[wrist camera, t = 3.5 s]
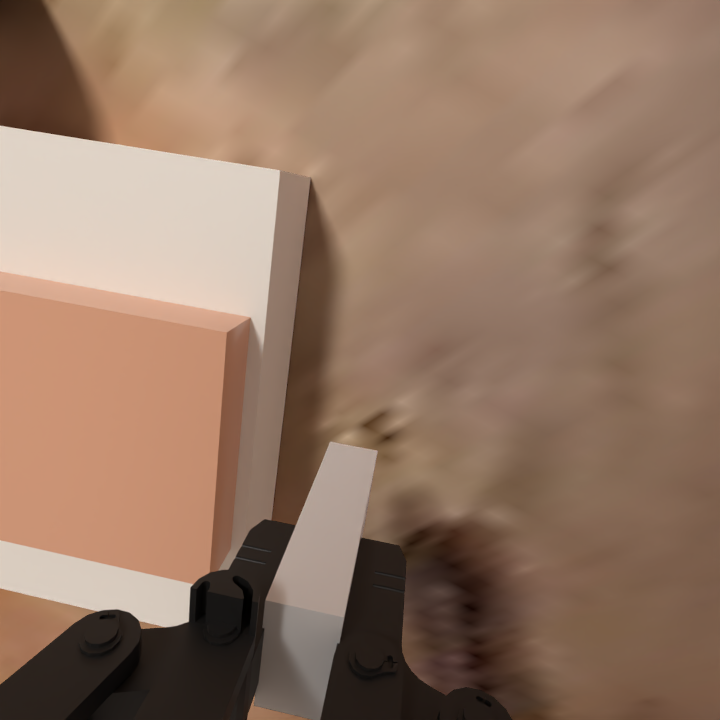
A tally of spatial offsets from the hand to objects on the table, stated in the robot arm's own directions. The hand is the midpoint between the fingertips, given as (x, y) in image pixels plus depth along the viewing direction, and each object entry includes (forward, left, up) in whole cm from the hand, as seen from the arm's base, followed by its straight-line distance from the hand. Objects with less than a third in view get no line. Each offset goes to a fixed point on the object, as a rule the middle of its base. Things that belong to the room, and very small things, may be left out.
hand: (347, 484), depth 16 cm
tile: (0, -8, -1) cm, 9 cm away
